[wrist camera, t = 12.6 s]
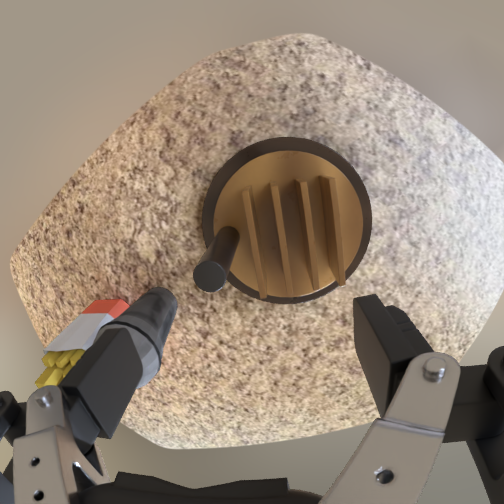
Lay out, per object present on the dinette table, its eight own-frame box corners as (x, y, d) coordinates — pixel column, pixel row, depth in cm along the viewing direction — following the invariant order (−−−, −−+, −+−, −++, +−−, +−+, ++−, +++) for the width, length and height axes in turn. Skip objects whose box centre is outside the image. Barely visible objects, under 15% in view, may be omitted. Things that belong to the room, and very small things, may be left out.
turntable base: (217, 126, 32) (214, 124, 31) (382, 158, 32) (387, 158, 31) (196, 285, 38) (193, 289, 36) (346, 308, 38) (348, 313, 36)
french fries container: (131, 290, 38) (58, 371, 21) (151, 358, 42) (104, 450, 24) (103, 292, 39) (26, 366, 22) (124, 357, 42) (71, 442, 25)
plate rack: (351, 142, 30) (398, 135, 18) (364, 282, 35) (404, 338, 23) (202, 164, 32) (164, 168, 20) (230, 302, 36) (213, 368, 24)
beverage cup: (184, 332, 40) (134, 448, 21) (134, 319, 40) (62, 419, 21) (191, 284, 38) (130, 393, 19) (137, 271, 38) (46, 361, 18)
